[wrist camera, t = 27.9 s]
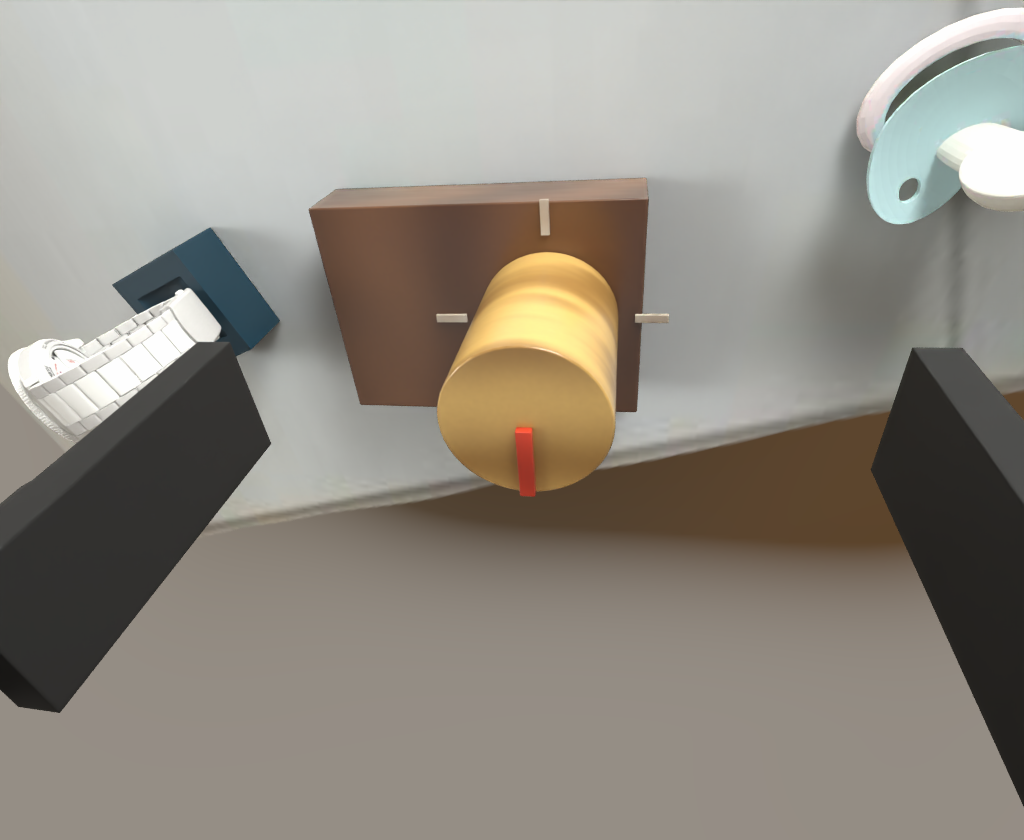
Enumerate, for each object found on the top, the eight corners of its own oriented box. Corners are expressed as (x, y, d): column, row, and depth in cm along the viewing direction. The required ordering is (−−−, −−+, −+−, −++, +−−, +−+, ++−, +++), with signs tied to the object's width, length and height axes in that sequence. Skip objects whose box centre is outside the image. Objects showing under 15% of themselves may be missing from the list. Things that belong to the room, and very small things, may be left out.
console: (673, 173, 25) (678, 195, 23) (658, 381, 31) (660, 417, 29) (334, 186, 28) (305, 207, 25) (379, 376, 34) (359, 408, 31)
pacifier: (827, 80, 23) (862, 226, 25) (882, 102, 18) (918, 282, 20) (1067, -38, 20) (1078, 141, 22) (1217, -52, 15) (1208, 181, 17)
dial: (475, 252, 25) (421, 349, 19) (620, 250, 24) (618, 352, 18) (488, 374, 29) (446, 493, 22) (616, 377, 28) (612, 502, 21)
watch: (128, 274, 32) (-59, 385, 23) (235, 212, 29) (67, 312, 20) (200, 359, 35) (57, 487, 26) (305, 310, 32) (182, 437, 23)
